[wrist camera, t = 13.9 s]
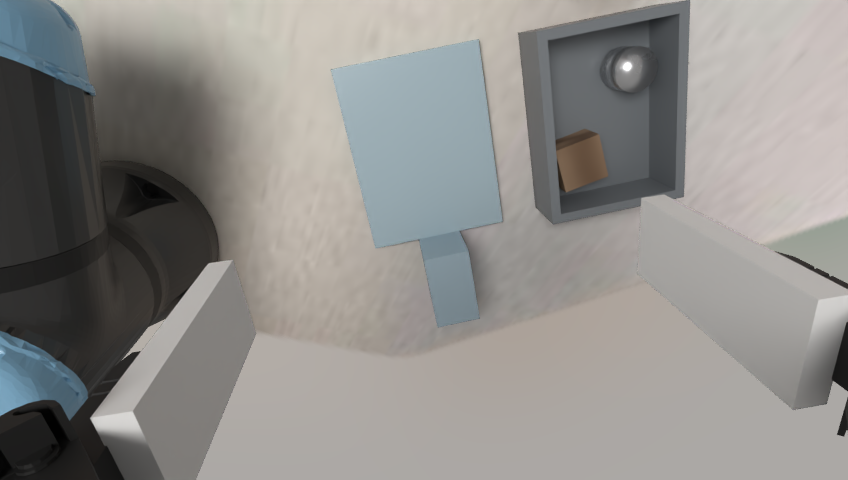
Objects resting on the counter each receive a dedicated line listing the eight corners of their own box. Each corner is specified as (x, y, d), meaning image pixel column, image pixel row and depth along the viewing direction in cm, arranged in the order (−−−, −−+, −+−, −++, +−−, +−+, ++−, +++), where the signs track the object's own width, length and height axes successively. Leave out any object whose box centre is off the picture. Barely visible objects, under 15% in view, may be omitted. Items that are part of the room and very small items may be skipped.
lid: (390, 304, 49) (392, 337, 44) (331, 69, 40) (324, 72, 35) (508, 279, 50) (524, 308, 44) (476, 39, 41) (492, 38, 35)
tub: (535, 206, 47) (552, 224, 42) (518, 32, 41) (536, 31, 36) (653, 181, 47) (683, 196, 42) (654, 5, 41) (690, -1, 36)
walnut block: (554, 183, 45) (566, 192, 43) (543, 144, 44) (555, 151, 41) (594, 168, 45) (608, 176, 42) (584, 128, 44) (599, 134, 41)
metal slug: (600, 93, 43) (616, 96, 40) (598, 50, 41) (614, 51, 38) (639, 84, 43) (657, 87, 40) (638, 42, 41) (657, 42, 38)
